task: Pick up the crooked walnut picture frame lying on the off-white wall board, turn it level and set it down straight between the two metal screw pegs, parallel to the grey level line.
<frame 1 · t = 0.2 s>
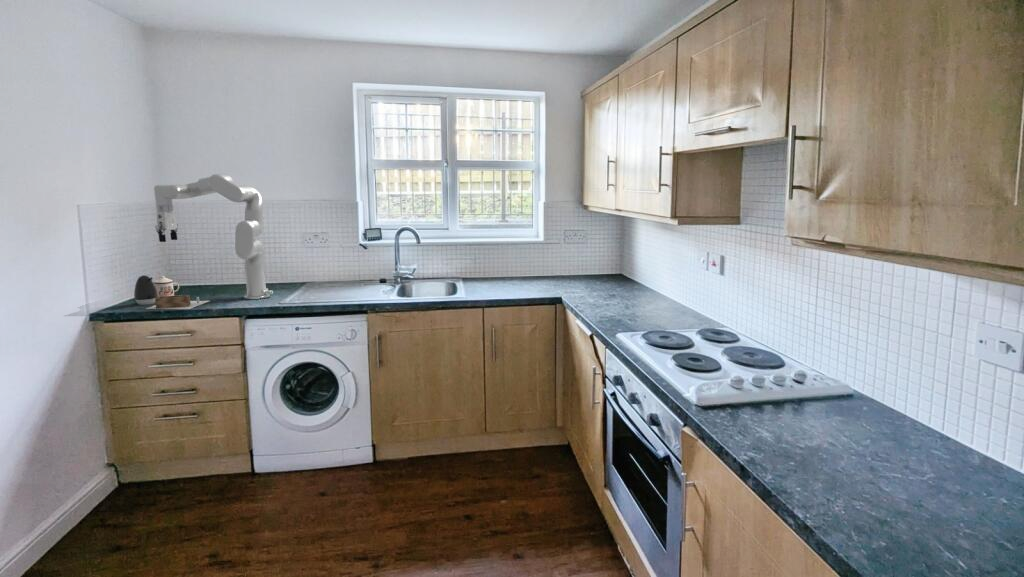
hand: (168, 240, 297), 31 cm above the counter, tool pointing down, fingers open, 9 cm apart
frame: (173, 306, 278), point 1 cm above the counter, touching wall board
teacup with lid: (168, 297, 304), on the counter
wall board: (178, 305, 282), on the counter
dark grey egg-shaped piece: (147, 304, 285), on the counter
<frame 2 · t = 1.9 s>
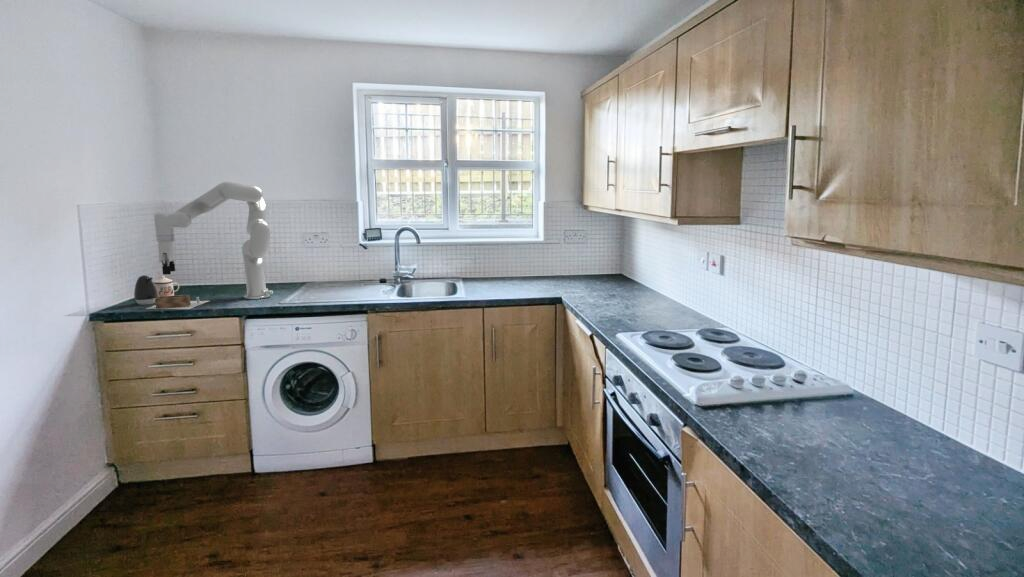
hand: (169, 272, 275), 18 cm above the counter, tool pointing down, fingers open, 9 cm apart
nothing on the counter moved.
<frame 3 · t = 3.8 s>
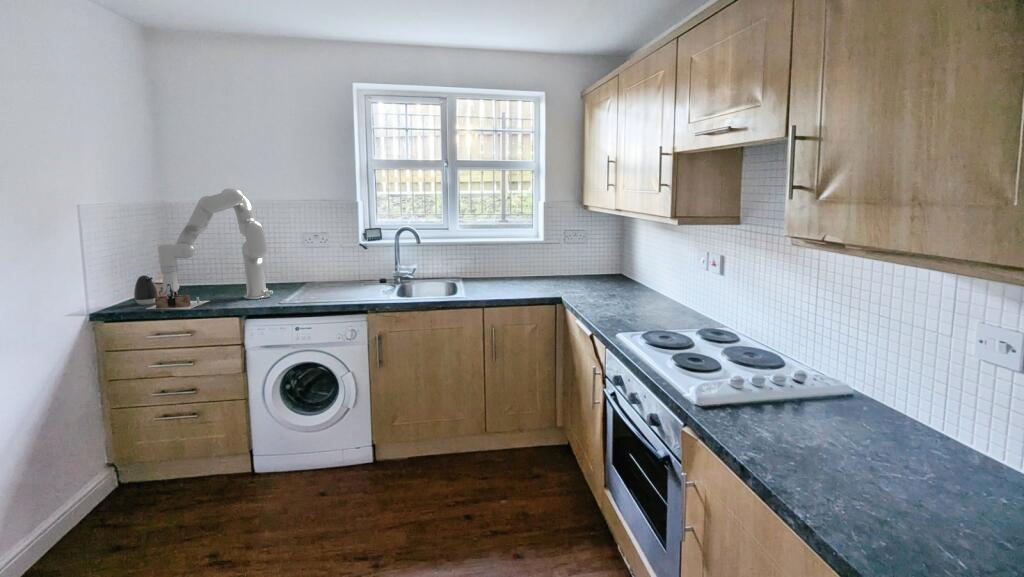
hand: (173, 304, 278), 2 cm above the counter, tool pointing down, fingers closed on frame, 6 cm apart
frame: (173, 306, 278), point 1 cm above the counter, touching gripper, wall board
everything else where it was.
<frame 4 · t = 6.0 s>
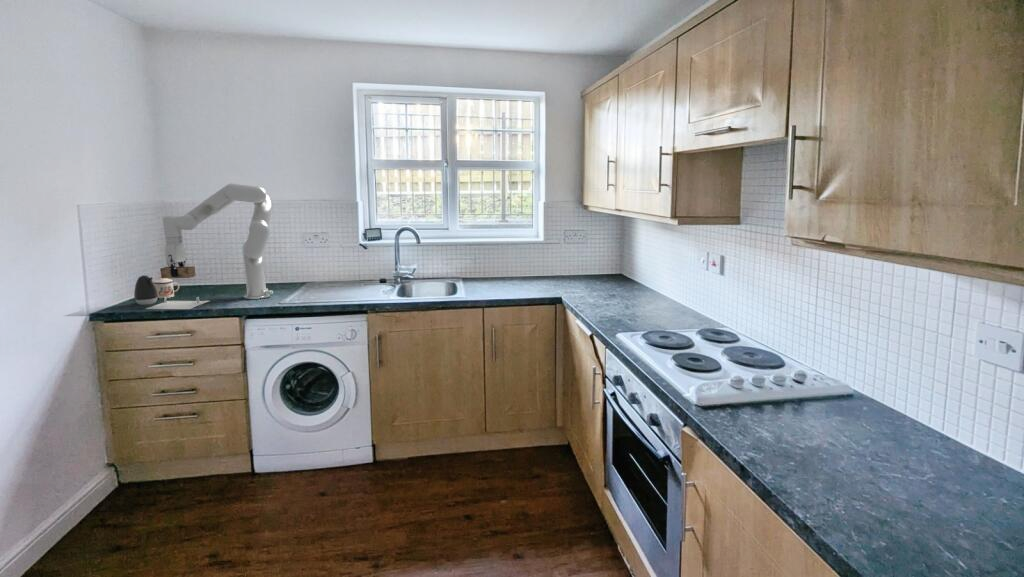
hand: (178, 275, 283), 15 cm above the counter, tool pointing down, fingers closed on frame, 6 cm apart
frame: (178, 277, 283), point 14 cm above the counter, touching gripper
everything else where it was.
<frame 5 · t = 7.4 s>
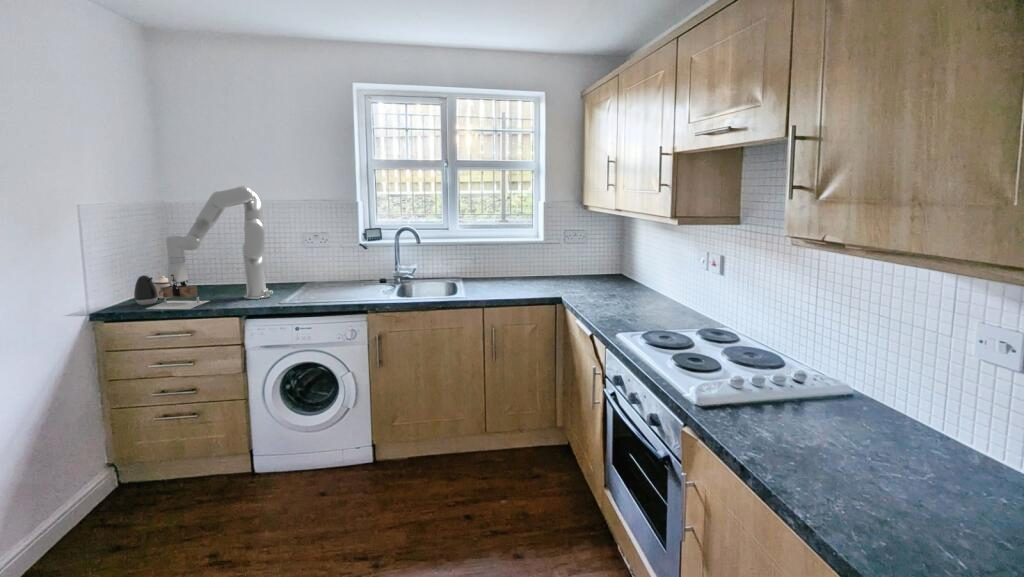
hand: (180, 294, 286), 5 cm above the counter, tool pointing down, fingers closed on frame, 6 cm apart
frame: (180, 296, 286), point 4 cm above the counter, touching gripper
everything else where it was.
when the fingers open (2 cm above the counter, at t = 8.3 s): frame stays where it is, resting on wall board.
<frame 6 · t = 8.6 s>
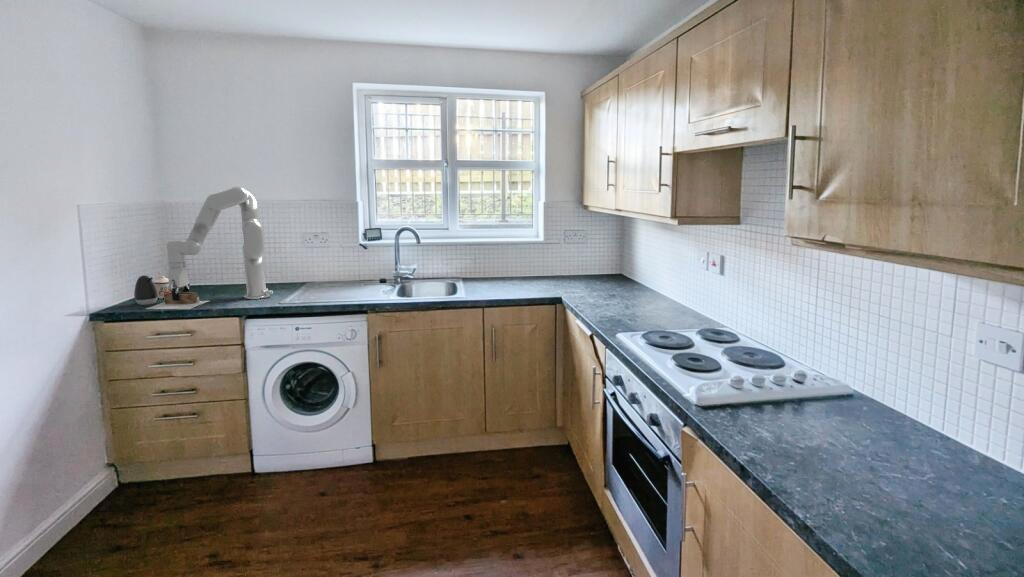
hand: (181, 298, 286), 3 cm above the counter, tool pointing down, fingers open, 8 cm apart
frame: (182, 302, 287), point 1 cm above the counter, touching wall board
everything else where it was.
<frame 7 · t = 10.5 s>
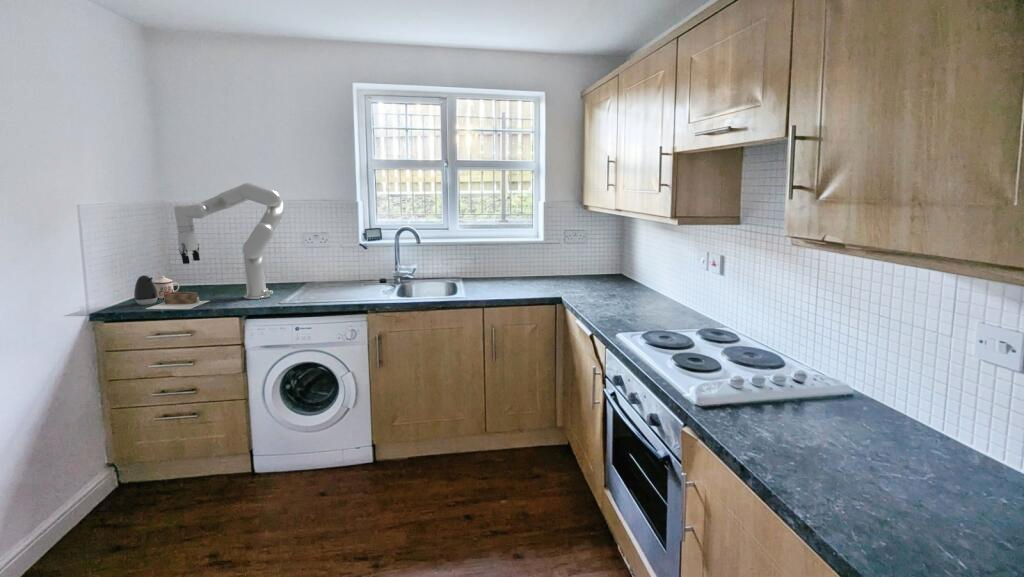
hand: (191, 262, 288), 21 cm above the counter, tool pointing down, fingers open, 9 cm apart
nothing on the counter moved.
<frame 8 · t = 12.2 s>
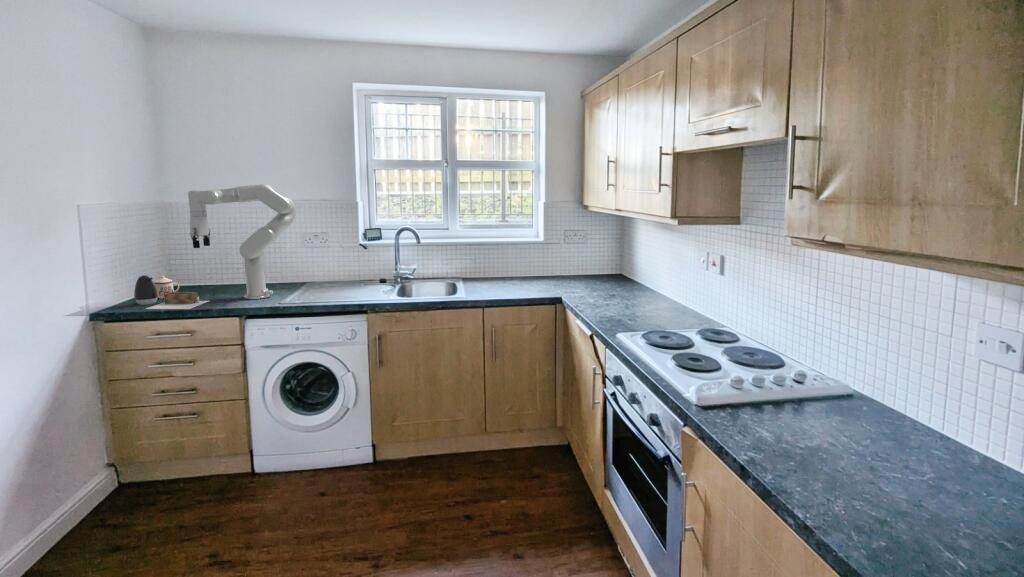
hand: (201, 246, 292), 28 cm above the counter, tool pointing down, fingers open, 9 cm apart
nothing on the counter moved.
at the end: frame 0.1 cm from the target spot, point 0.6 cm above the counter; frame tilted 0°; the gripper is holding nothing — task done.
